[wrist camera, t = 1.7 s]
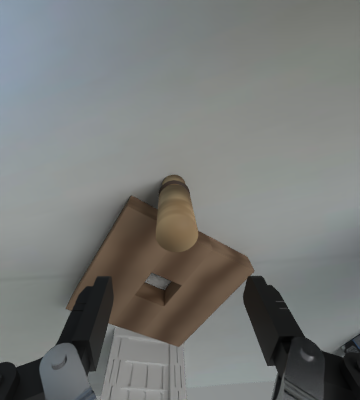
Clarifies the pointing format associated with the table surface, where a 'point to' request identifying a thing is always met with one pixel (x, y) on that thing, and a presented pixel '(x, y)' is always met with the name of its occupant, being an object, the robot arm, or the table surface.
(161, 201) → the peg
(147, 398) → the castle model
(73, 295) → the board
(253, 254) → the table surface
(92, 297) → the robot arm
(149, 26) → the table surface
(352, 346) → the label tape cartridge
